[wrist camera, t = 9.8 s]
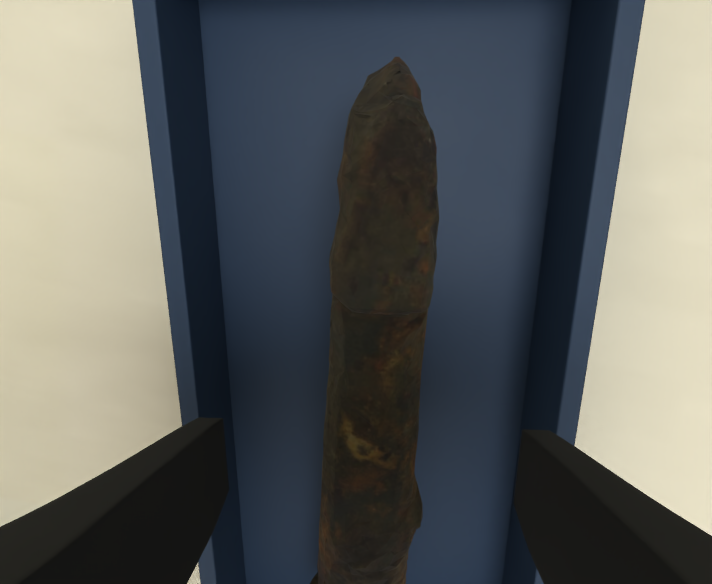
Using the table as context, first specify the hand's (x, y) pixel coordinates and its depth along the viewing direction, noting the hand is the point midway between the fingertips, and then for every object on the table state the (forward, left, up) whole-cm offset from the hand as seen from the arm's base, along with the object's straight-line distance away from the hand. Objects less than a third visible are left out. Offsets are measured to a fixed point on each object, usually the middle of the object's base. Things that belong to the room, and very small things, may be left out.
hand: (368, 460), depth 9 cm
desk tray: (0, 0, -5) cm, 5 cm away
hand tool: (0, 0, -5) cm, 5 cm away
